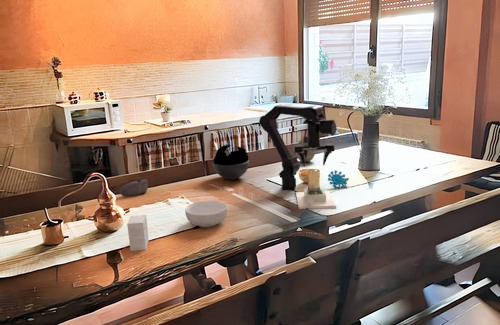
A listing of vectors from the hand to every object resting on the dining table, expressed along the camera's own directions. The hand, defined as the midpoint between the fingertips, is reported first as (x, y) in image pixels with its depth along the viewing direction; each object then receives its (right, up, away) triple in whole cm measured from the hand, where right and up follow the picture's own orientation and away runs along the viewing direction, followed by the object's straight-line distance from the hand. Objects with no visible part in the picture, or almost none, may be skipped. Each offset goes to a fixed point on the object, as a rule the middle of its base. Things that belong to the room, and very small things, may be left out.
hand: (313, 165), depth 206 cm
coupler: (-1, -15, -9) cm, 18 cm away
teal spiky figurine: (+14, -11, +10) cm, 20 cm away
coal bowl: (-40, -8, +31) cm, 52 cm away
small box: (-70, -29, -49) cm, 91 cm away
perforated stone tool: (-88, -15, +11) cm, 90 cm away
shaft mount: (-1, -16, -9) cm, 18 cm away
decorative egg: (+4, +2, +60) cm, 60 cm away
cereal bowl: (-48, -23, -30) cm, 61 cm away
